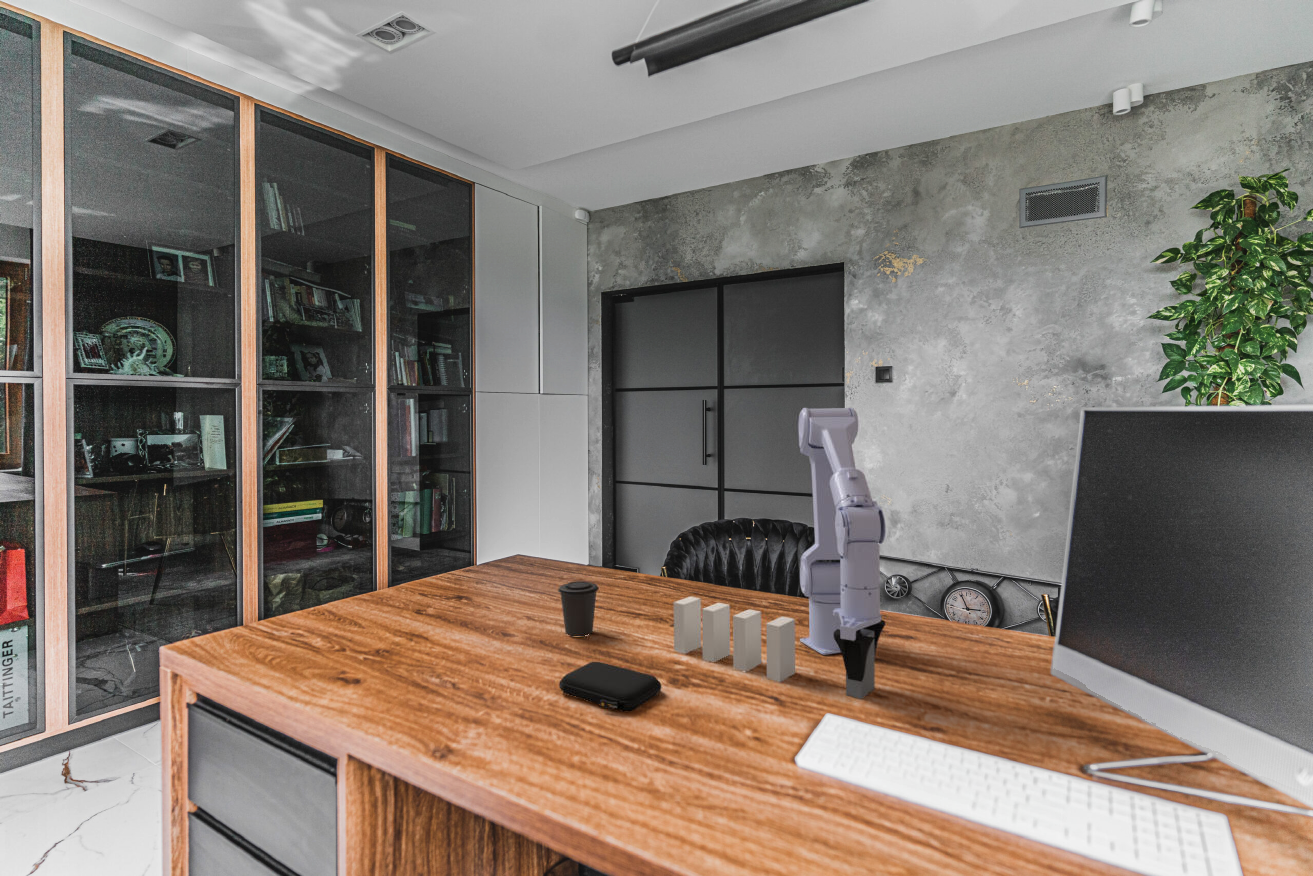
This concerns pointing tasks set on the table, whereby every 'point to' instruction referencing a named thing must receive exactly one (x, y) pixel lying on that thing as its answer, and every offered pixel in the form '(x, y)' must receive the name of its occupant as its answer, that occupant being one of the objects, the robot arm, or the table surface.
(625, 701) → the carrying case or bag
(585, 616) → the coffee cup
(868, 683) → the domino
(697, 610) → the domino
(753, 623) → the domino
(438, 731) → the table surface
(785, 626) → the domino
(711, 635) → the domino
